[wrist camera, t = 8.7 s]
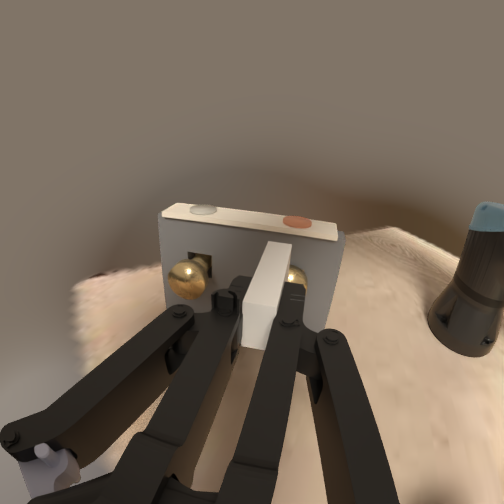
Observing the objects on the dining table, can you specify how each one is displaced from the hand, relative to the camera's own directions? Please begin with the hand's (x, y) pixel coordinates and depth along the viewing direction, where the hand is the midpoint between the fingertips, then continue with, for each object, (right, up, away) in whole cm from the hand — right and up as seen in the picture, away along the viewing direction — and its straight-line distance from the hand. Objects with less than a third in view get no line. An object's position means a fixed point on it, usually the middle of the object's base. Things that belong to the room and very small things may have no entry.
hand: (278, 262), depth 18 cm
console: (-3, -10, +21) cm, 24 cm away
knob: (-8, -3, +18) cm, 20 cm away
